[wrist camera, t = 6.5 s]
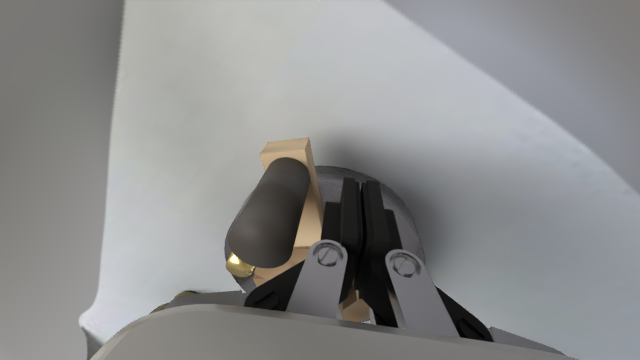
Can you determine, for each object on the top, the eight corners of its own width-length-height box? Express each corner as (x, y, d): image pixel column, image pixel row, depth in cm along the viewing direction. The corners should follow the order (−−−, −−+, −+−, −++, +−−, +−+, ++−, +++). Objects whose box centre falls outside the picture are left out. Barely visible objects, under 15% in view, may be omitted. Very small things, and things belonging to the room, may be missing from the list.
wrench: (383, 308, 21) (396, 407, 16) (279, 308, 23) (256, 398, 17) (373, 129, 13) (393, 204, 7) (212, 149, 15) (127, 223, 9)
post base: (434, 278, 23) (483, 420, 15) (291, 306, 28) (267, 424, 20) (381, 133, 16) (415, 243, 8) (202, 203, 21) (106, 317, 13)
